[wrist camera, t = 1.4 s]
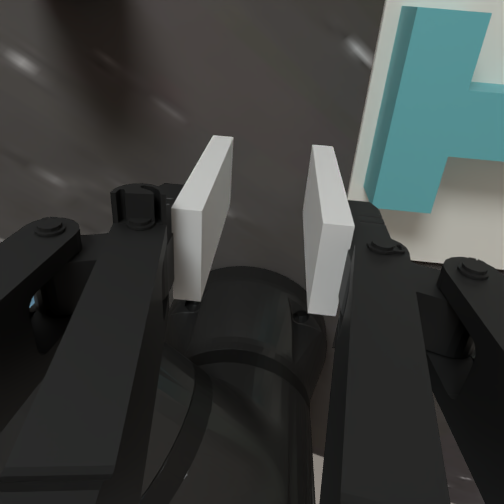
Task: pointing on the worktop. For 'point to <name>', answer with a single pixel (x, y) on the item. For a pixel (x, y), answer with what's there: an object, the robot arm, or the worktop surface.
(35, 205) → the worktop surface
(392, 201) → the t block
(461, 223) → the board
